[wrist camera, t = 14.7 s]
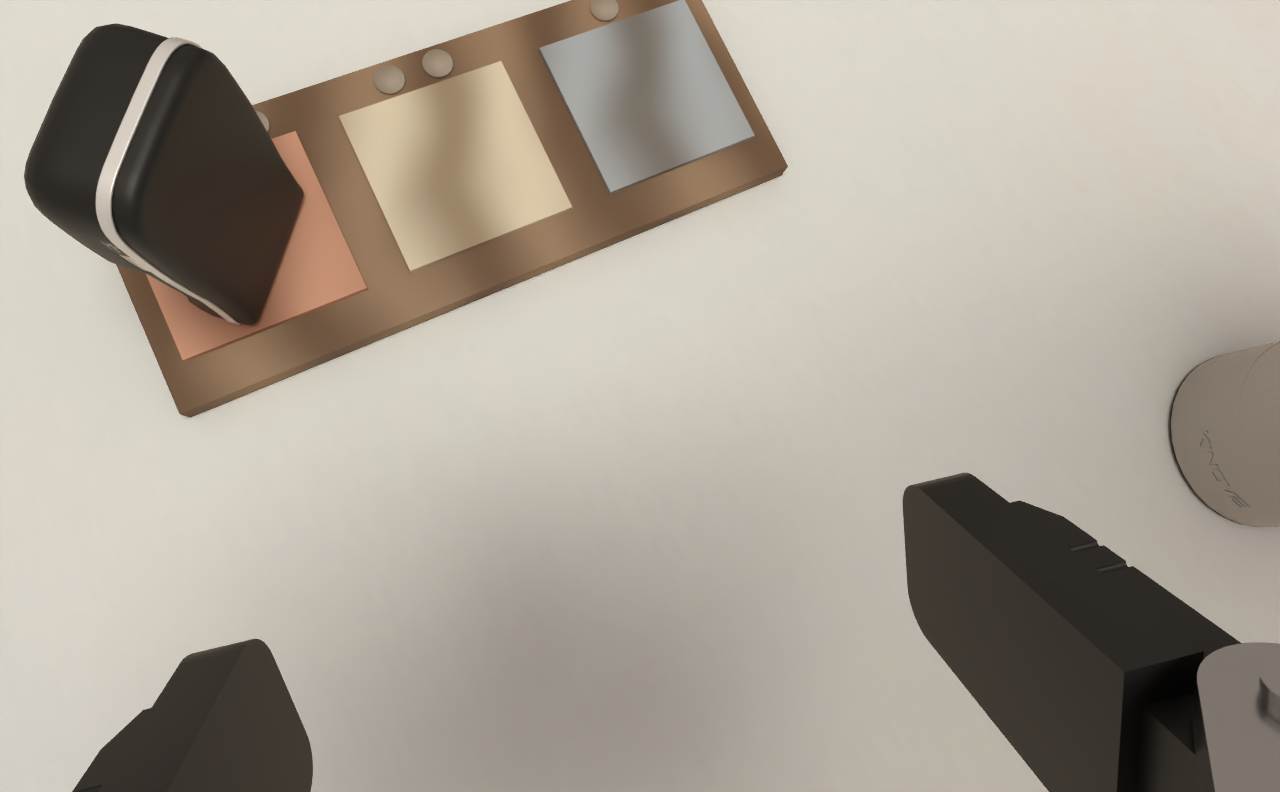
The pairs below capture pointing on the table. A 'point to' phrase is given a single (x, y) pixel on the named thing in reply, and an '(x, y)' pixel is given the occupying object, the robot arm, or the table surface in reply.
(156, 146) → the battery charger
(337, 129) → the tile board
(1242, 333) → the table surface
